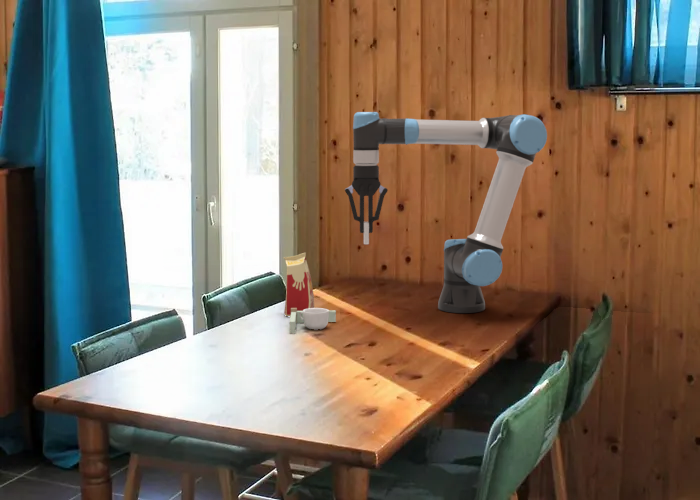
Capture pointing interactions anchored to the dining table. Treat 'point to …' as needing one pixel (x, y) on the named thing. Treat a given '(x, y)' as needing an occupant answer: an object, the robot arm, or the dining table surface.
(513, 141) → the robot arm
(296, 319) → the corner fence
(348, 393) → the dining table surface
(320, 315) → the teacup
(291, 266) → the milk carton
